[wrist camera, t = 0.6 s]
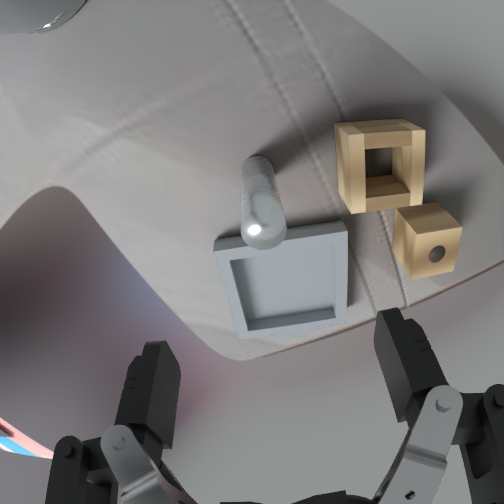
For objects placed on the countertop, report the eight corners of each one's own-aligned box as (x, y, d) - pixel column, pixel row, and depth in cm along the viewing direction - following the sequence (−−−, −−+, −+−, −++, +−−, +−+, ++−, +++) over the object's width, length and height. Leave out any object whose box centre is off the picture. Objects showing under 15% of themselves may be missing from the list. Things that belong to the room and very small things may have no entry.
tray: (214, 239, 30) (213, 251, 29) (342, 220, 29) (347, 231, 28) (239, 326, 37) (239, 339, 35) (342, 311, 36) (346, 323, 34)
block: (394, 207, 29) (417, 234, 24) (437, 201, 28) (463, 227, 24) (391, 249, 31) (410, 280, 27) (431, 243, 31) (453, 271, 27)
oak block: (333, 123, 24) (347, 134, 21) (403, 118, 24) (425, 130, 20) (338, 193, 28) (351, 214, 24) (402, 185, 27) (421, 204, 24)
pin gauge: (239, 158, 26) (236, 214, 18) (270, 153, 26) (284, 206, 17) (244, 186, 27) (245, 253, 19) (275, 182, 27) (289, 246, 19)
